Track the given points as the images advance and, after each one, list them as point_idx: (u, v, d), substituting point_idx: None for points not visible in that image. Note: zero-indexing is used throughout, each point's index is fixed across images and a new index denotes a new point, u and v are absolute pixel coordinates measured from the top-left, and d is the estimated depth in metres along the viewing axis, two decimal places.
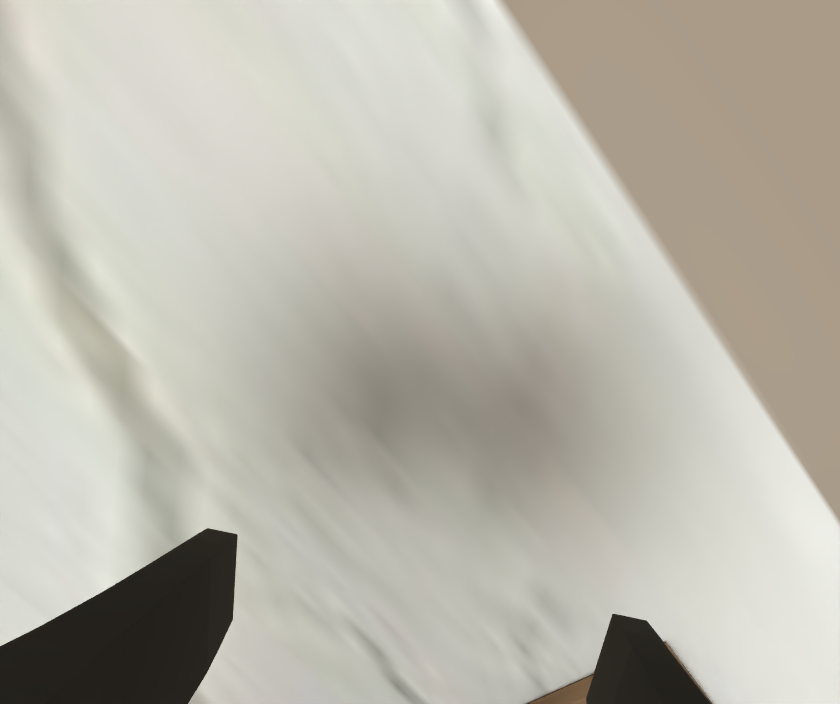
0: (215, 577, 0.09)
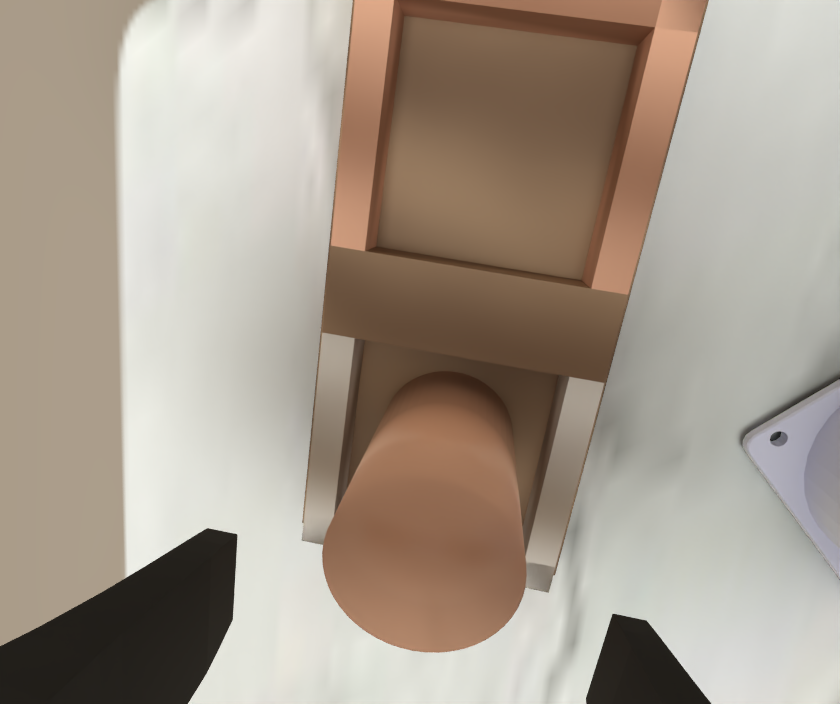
0: (215, 577, 0.09)
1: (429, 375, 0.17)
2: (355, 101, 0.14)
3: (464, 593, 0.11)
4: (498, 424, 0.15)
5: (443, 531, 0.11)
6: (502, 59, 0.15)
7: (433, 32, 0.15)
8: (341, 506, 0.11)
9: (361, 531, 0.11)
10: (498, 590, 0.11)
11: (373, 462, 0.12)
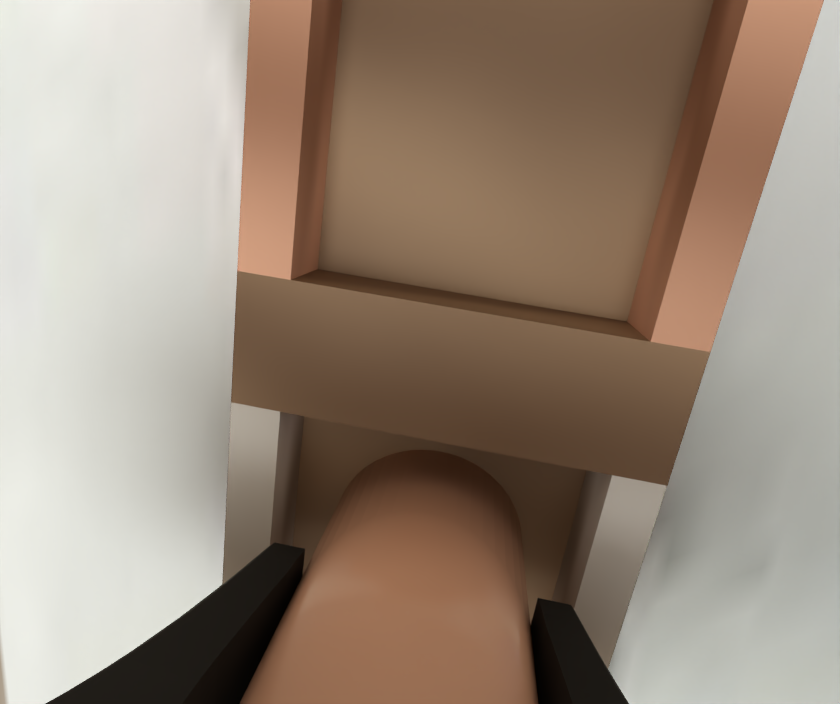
0: (288, 594, 0.09)
1: (399, 457, 0.12)
2: (266, 36, 0.08)
3: None
4: (501, 553, 0.10)
5: None
6: None
7: None
8: None
9: None
10: None
11: (275, 681, 0.07)
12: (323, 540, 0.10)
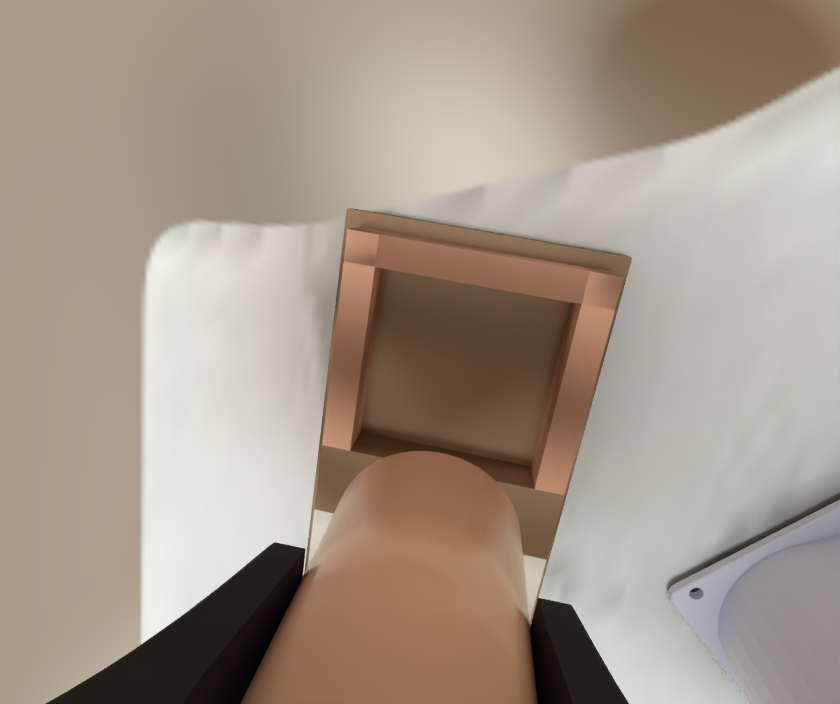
0: (288, 593, 0.09)
1: (399, 458, 0.12)
2: (342, 341, 0.17)
3: None
4: (501, 555, 0.10)
5: None
6: (464, 298, 0.18)
7: (408, 275, 0.18)
8: None
9: None
10: None
11: (276, 682, 0.07)
12: (323, 541, 0.10)
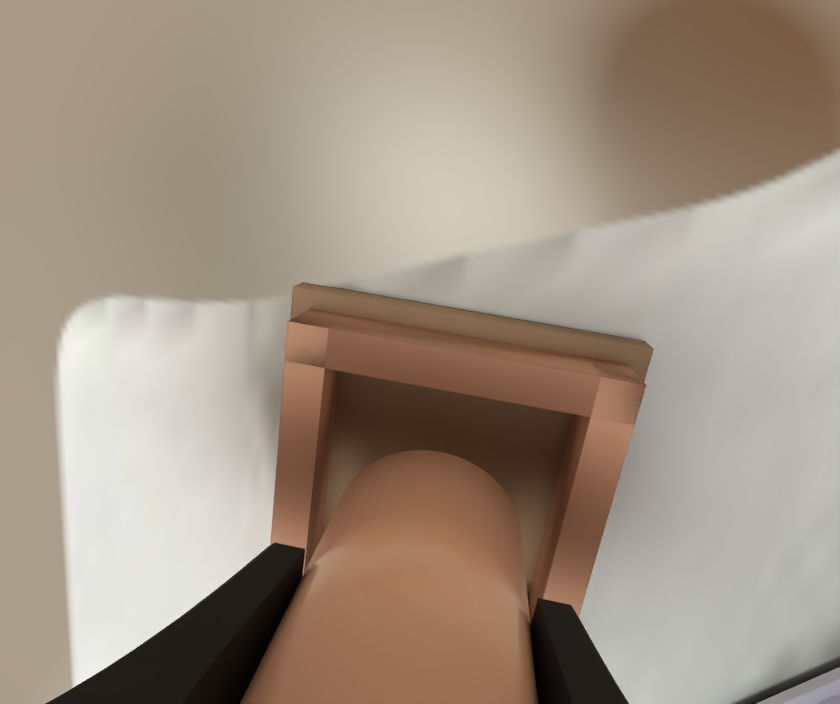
0: (288, 593, 0.09)
1: (399, 457, 0.12)
2: (288, 456, 0.14)
3: None
4: (501, 554, 0.10)
5: None
6: (442, 395, 0.14)
7: None
8: None
9: None
10: None
11: (275, 681, 0.07)
12: (323, 540, 0.10)
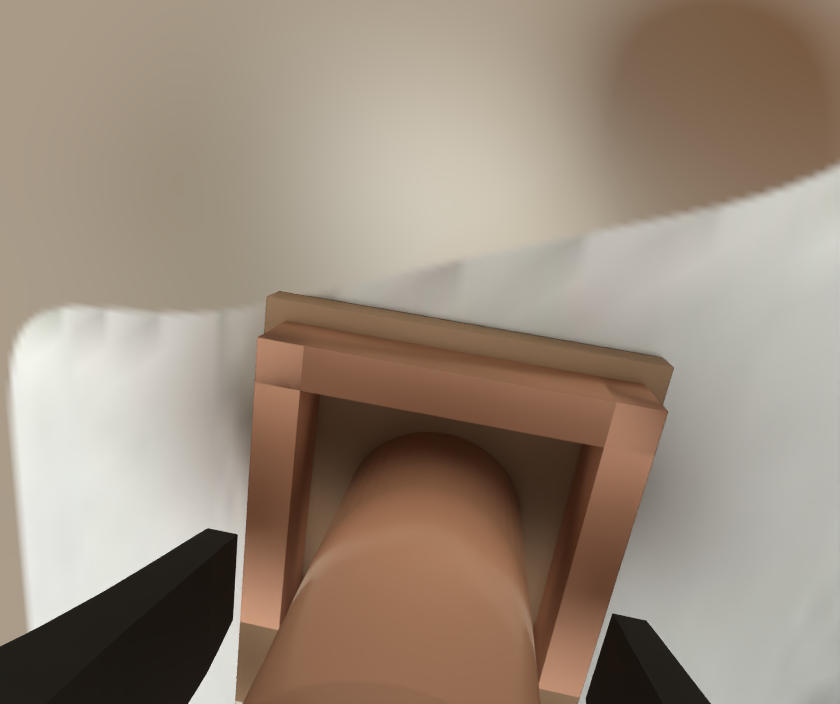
0: (215, 577, 0.09)
1: (407, 438, 0.13)
2: (260, 489, 0.12)
3: None
4: (502, 522, 0.10)
5: None
6: (435, 418, 0.13)
7: None
8: None
9: None
10: None
11: (305, 621, 0.08)
12: (339, 511, 0.11)
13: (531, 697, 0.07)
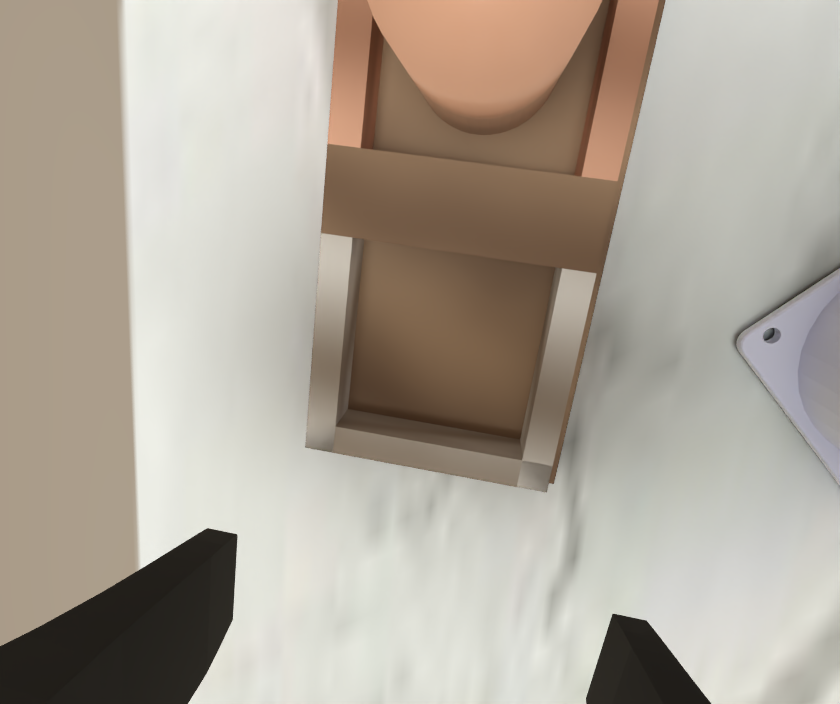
0: (215, 577, 0.09)
1: None
2: None
3: None
4: None
5: None
6: None
7: None
8: None
9: None
10: None
11: None
12: None
13: None
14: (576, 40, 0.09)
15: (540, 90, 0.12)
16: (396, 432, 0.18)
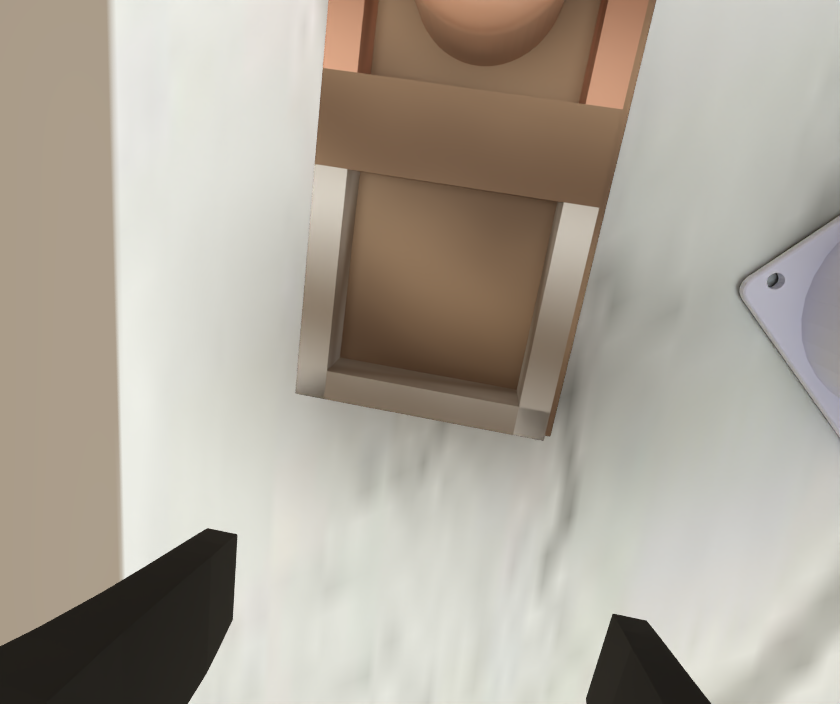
0: (215, 577, 0.09)
1: None
2: None
3: None
4: None
5: None
6: None
7: None
8: None
9: None
10: None
11: None
12: None
13: None
14: None
15: None
16: (390, 378, 0.18)
